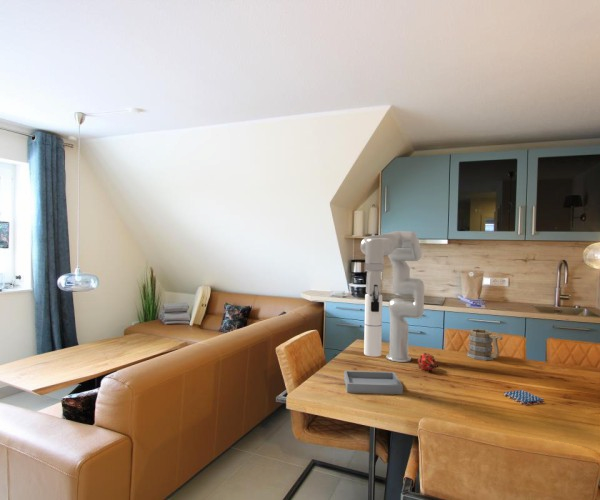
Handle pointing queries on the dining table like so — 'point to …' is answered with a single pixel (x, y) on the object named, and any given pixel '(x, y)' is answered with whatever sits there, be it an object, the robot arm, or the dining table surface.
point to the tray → (372, 382)
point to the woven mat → (523, 397)
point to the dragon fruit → (427, 362)
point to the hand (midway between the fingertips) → (373, 309)
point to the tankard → (483, 344)
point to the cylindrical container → (372, 328)
